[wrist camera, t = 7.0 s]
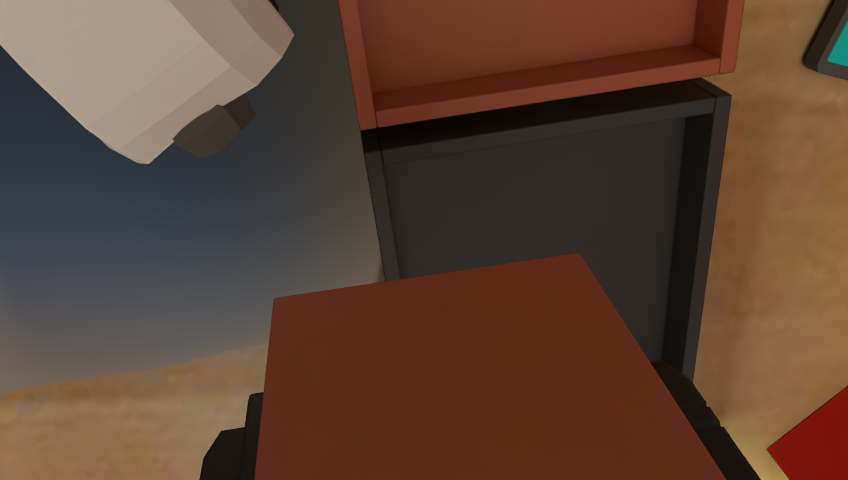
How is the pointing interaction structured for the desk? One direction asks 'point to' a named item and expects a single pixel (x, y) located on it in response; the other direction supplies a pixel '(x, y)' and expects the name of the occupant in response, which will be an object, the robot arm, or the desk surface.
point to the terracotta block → (469, 383)
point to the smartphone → (831, 44)
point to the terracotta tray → (524, 51)
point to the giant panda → (149, 66)
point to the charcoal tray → (566, 197)
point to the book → (817, 444)
